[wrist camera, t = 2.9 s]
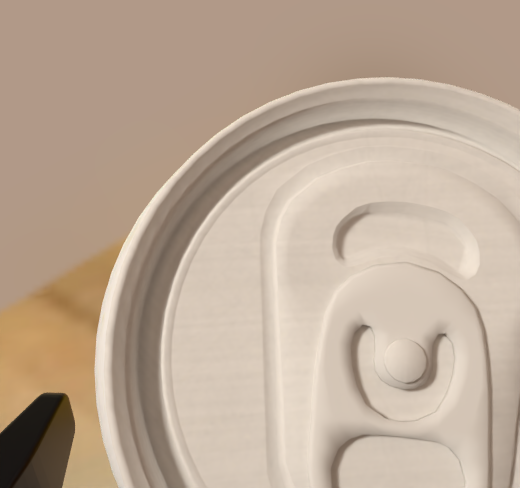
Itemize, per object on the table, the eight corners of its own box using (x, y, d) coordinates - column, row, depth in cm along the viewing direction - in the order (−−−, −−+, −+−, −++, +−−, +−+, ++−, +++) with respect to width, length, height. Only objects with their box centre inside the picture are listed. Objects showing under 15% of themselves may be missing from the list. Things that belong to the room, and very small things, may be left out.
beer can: (361, 282, 20) (714, 76, 5) (351, 441, 18) (800, 811, 4) (211, 265, 19) (119, 6, 5) (191, 424, 18) (-20, 730, 4)
